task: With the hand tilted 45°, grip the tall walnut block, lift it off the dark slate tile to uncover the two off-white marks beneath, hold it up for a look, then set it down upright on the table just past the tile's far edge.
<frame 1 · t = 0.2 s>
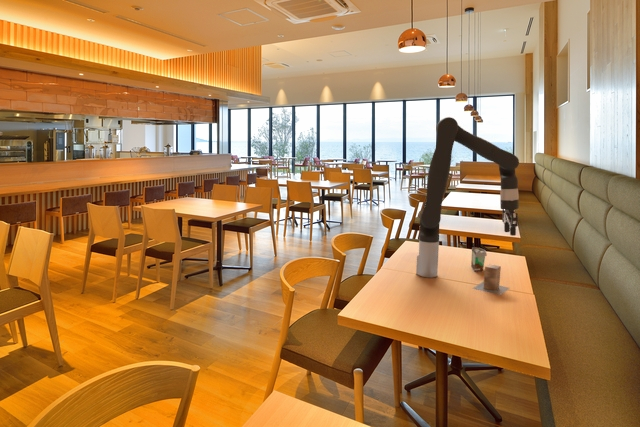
hand: (510, 233, 188), 23 cm above the table, tool pointing down, fingers open, 8 cm apart
walnut block: (491, 288, 181), resting on code tile
food container: (478, 269, 209), on the table
code tile: (491, 288, 181), on the table
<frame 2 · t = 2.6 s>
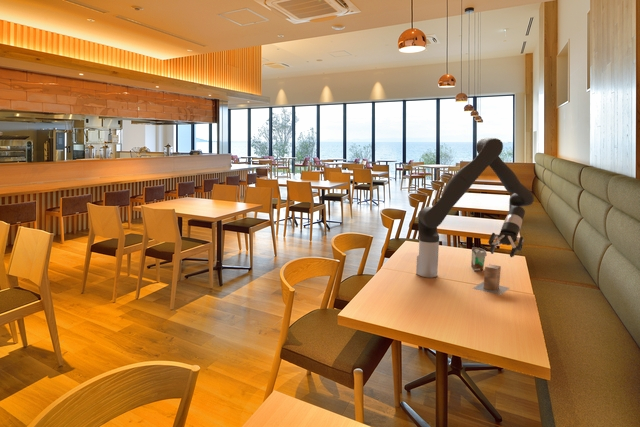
hand: (501, 254, 186), 13 cm above the table, tool tilted 45°, fingers open, 8 cm apart
nothing on the table moved.
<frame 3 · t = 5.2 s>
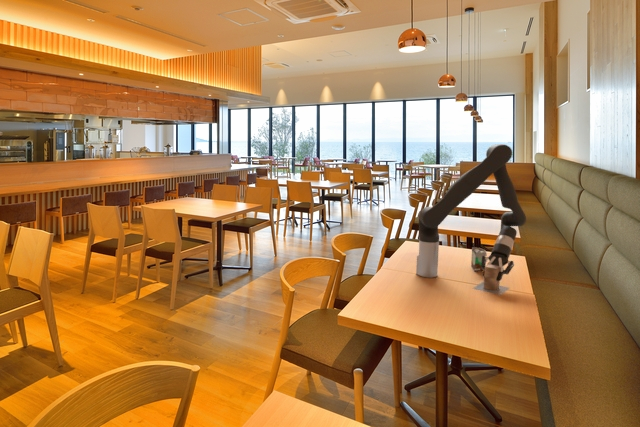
hand: (491, 278, 180), 5 cm above the table, tool tilted 45°, fingers closed on walnut block, 5 cm apart
walnut block: (491, 288, 181), resting on code tile, touching gripper
everything else where it was.
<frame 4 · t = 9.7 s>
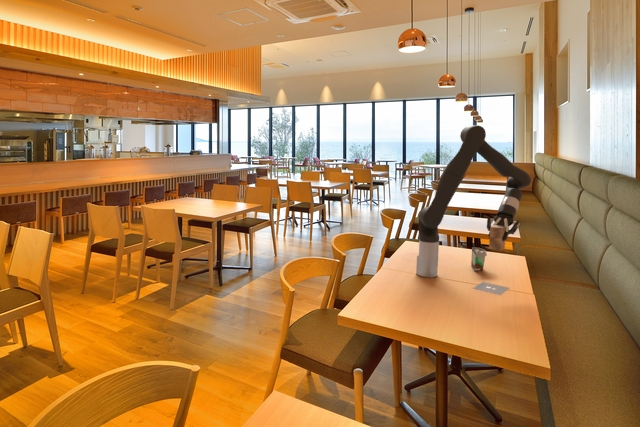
hand: (496, 239, 179), 22 cm above the table, tool tilted 45°, fingers closed on walnut block, 5 cm apart
walnut block: (496, 248, 181), point 18 cm above the table, touching gripper
everything else where it was.
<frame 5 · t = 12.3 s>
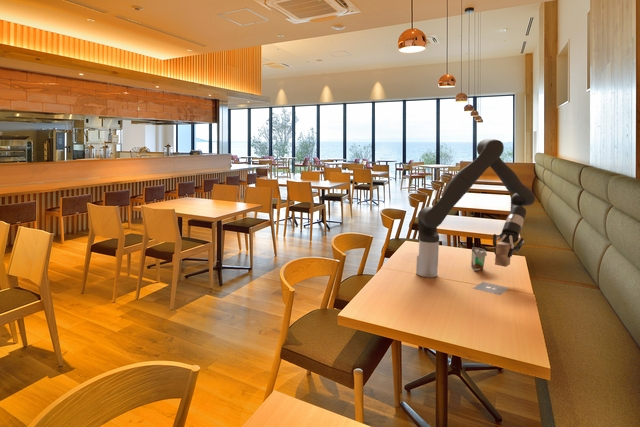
hand: (502, 255, 187), 13 cm above the table, tool tilted 45°, fingers closed on walnut block, 5 cm apart
walnut block: (502, 264, 189), point 8 cm above the table, touching gripper
everything else where it was.
when the fingers open (6 cm above the table, at t = 14.2 s): walnut block drops 1 cm, on the table.
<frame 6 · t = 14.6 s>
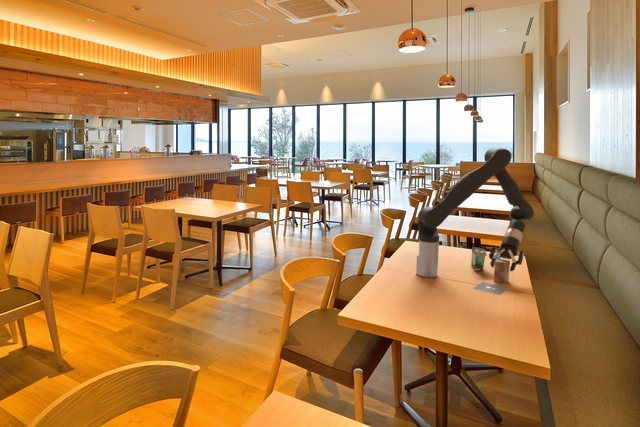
hand: (501, 268, 188), 6 cm above the table, tool tilted 45°, fingers open, 8 cm apart
walnut block: (500, 281, 190), on the table
everything else where it was.
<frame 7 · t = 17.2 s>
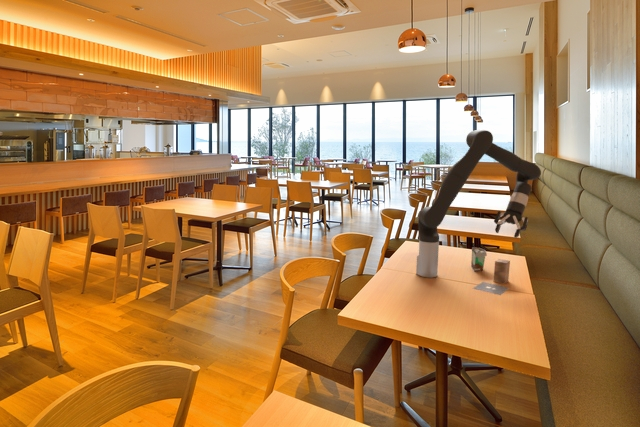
hand: (505, 234, 193), 21 cm above the table, tool tilted 30°, fingers open, 8 cm apart
nothing on the table moved.
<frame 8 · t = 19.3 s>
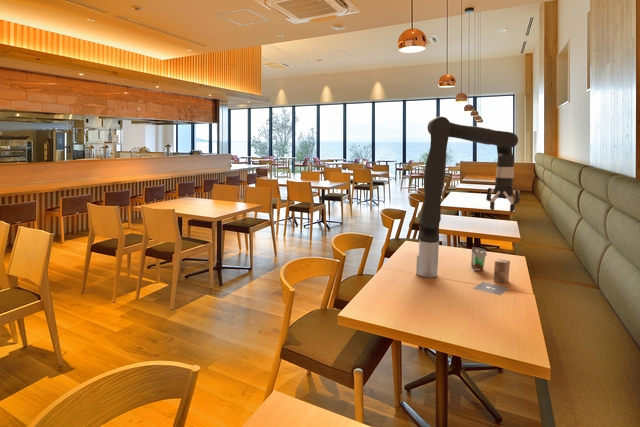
hand: (501, 211, 191), 32 cm above the table, tool pointing down, fingers open, 8 cm apart
nothing on the table moved.
at the end: walnut block inside the target area (0.1 cm from its centre), on the table; walnut block tilted 0°; walnut block touching table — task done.
